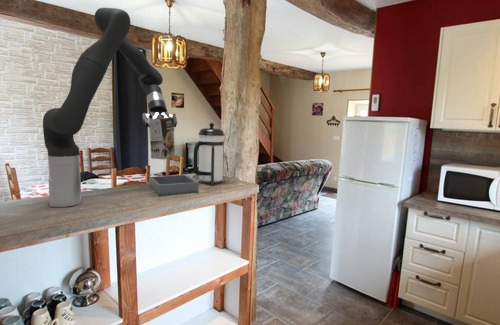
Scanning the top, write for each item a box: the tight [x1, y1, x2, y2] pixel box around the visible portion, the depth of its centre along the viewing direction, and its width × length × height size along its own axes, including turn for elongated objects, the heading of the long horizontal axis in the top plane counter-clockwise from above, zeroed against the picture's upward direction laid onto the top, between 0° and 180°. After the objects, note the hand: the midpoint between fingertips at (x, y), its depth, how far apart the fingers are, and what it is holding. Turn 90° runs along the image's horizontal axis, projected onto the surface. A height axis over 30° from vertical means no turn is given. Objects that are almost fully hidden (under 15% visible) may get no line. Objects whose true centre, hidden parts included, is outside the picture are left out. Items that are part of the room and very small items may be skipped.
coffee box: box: [148, 117, 176, 160], centre depth 119 cm, size 9×6×16 cm
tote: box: [149, 174, 199, 197], centre depth 129 cm, size 17×19×4 cm
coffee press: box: [192, 122, 226, 186], centre depth 143 cm, size 17×16×30 cm
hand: (163, 133), depth 121 cm, fingers closed on coffee box, 7 cm apart
